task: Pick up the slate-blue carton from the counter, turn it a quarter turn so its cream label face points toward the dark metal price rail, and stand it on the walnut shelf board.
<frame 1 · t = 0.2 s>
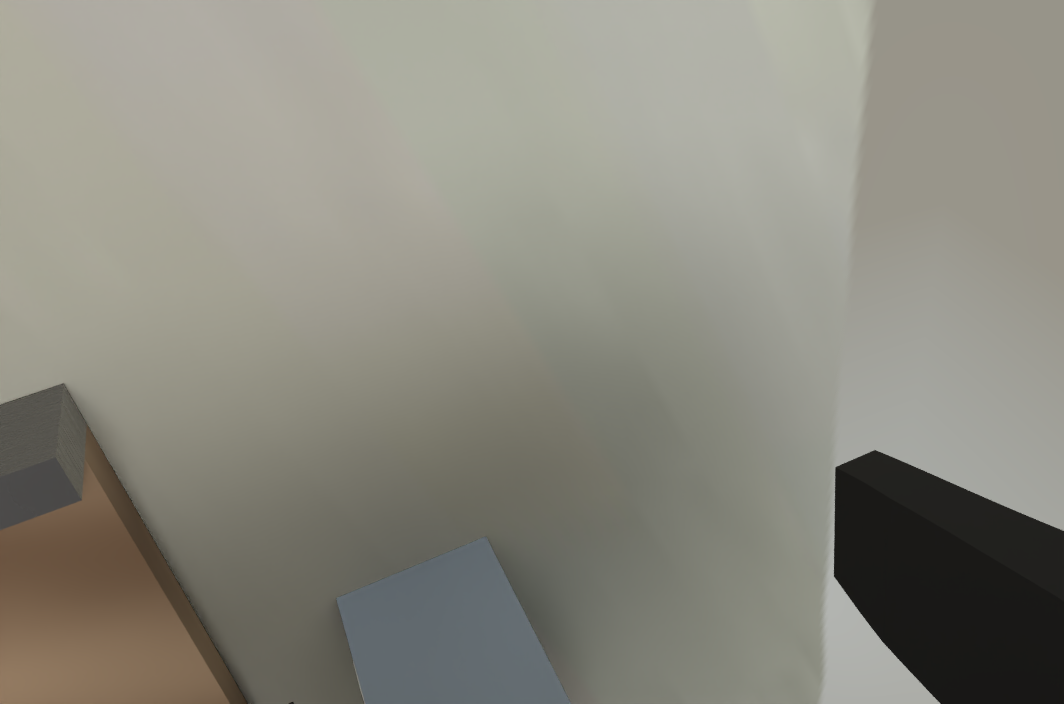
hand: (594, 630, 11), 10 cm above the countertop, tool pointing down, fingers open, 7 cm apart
carton: (439, 641, 24), on the countertop
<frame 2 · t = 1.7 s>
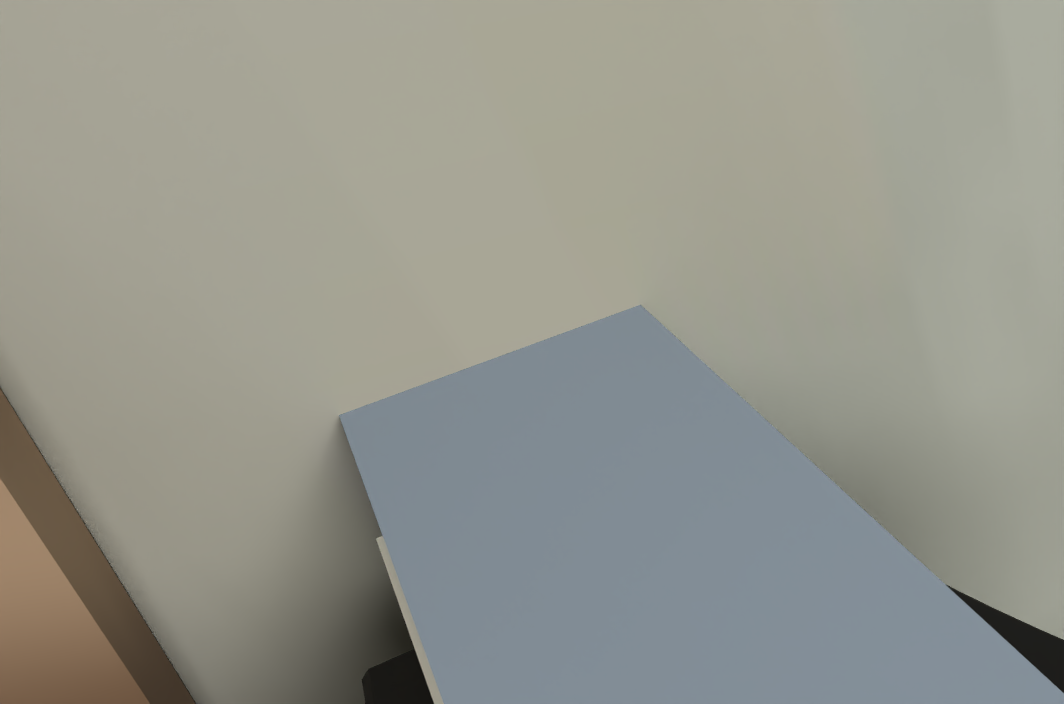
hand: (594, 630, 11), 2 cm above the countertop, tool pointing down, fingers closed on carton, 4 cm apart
carton: (536, 530, 13), on the countertop, touching gripper
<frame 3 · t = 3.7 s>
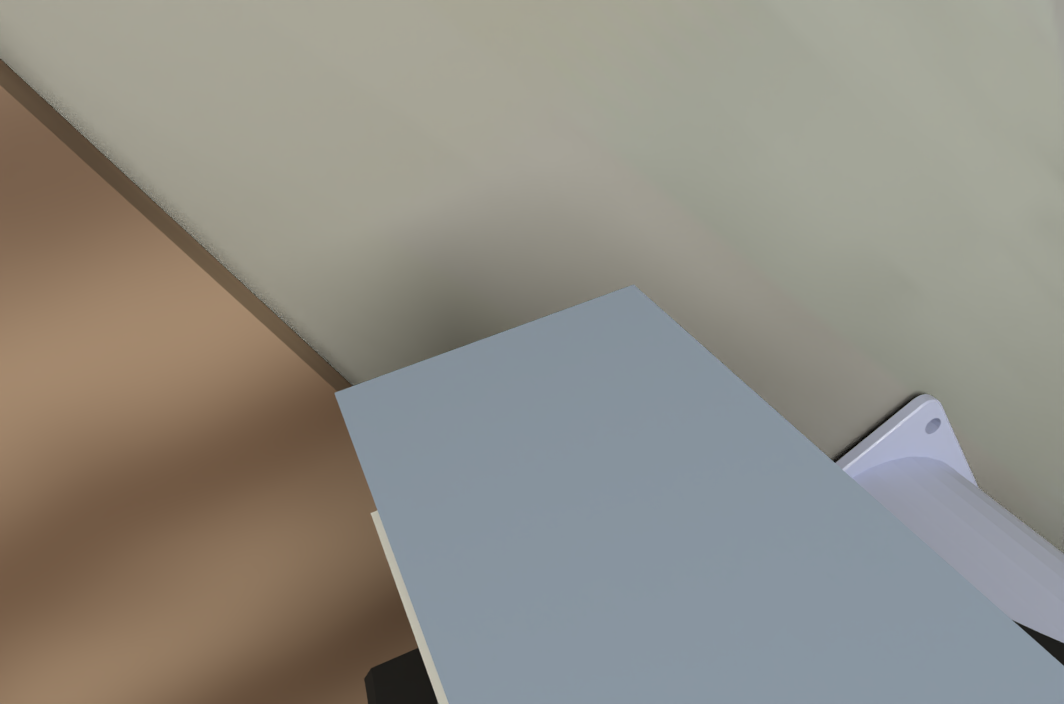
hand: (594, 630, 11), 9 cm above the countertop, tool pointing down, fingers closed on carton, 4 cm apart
shelf board: (74, 535, 18), on the countertop
carton: (532, 511, 13), point 7 cm above the countertop, touching gripper
when the fingers open (4 cm above the countertop, at t = 5.7 s): carton stays where it is, resting on shelf board.
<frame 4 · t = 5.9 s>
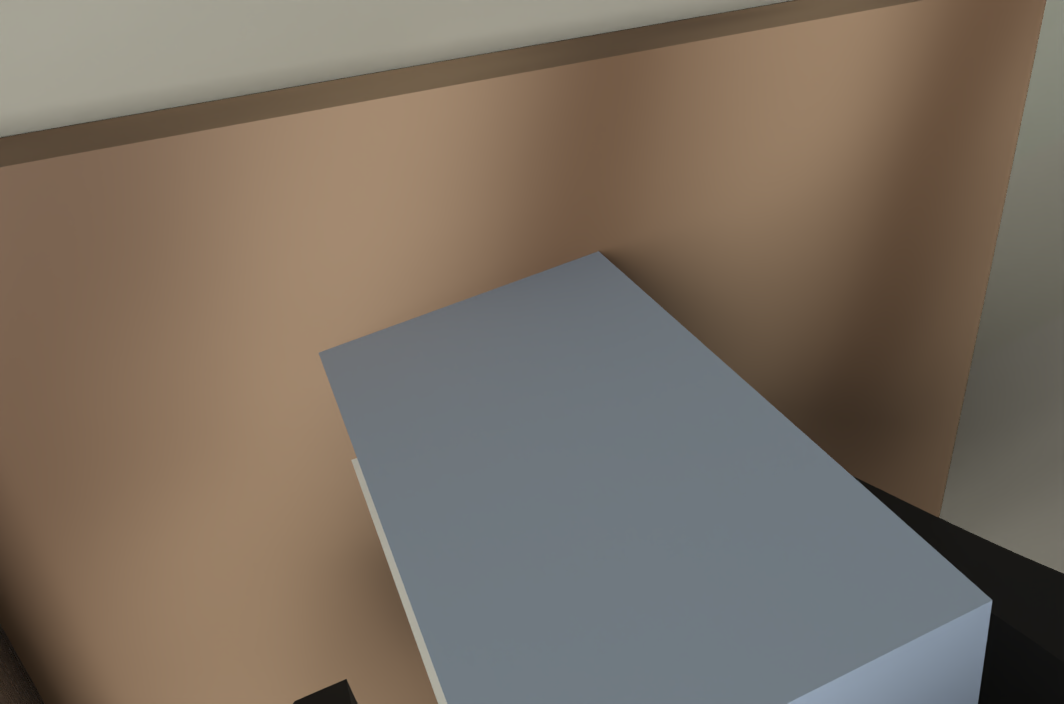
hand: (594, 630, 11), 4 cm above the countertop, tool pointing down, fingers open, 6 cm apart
shelf board: (538, 420, 15), on the countertop
carton: (508, 468, 14), point 1 cm above the countertop, touching shelf board
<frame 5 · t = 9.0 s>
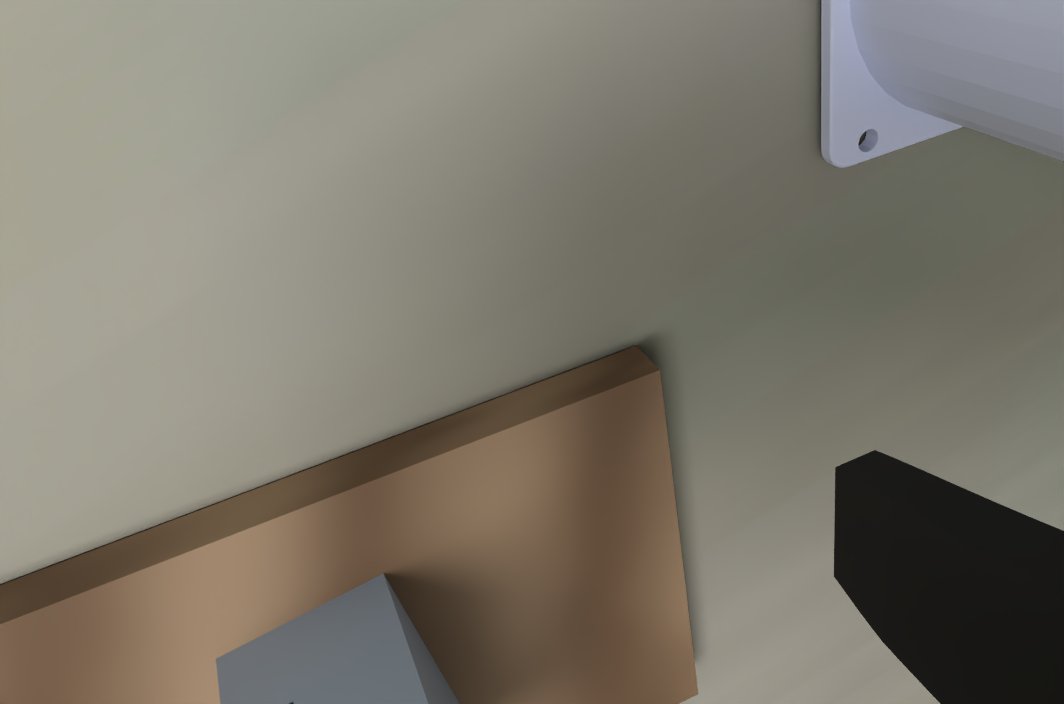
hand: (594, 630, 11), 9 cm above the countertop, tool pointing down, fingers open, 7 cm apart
shelf board: (381, 645, 23), on the countertop
carton: (353, 691, 22), point 1 cm above the countertop, touching shelf board
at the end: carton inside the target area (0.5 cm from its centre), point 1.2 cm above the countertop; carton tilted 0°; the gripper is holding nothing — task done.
